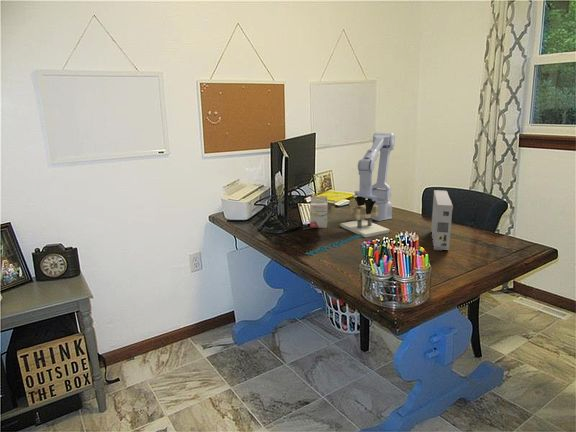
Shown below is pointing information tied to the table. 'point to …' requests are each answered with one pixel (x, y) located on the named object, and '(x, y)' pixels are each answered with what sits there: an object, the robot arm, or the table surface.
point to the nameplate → (333, 245)
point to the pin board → (365, 228)
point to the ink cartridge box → (318, 212)
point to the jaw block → (363, 212)
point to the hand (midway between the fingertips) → (364, 212)
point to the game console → (441, 220)
